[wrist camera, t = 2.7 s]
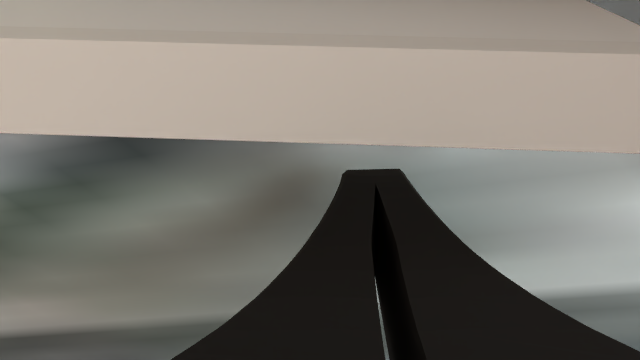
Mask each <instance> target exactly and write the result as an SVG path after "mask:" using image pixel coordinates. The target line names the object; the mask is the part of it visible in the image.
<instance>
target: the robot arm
mask: <svg viewBox="0 0 640 360" xmlns="http://www.w3.org/2000/svg"><path fill="white" fill-rule="evenodd" d="M375 279H376V285H377V290H378V296H379V302H380V308H381V313H382V319H383V325H384V330H385V336H386V342H387V347H388V353H389V360H640V352H639V351H637V350H635V349H633V348H631V347H629V346H627V345H625V344H623V343H621V342H618V341H616V340H614V339H612V338H610V337H608V336H606V335H604V334H602V333H600V332H598V331H595V330H593V329H591V328H590V327H588V326H586V325H584V324H582V323H580V322H578V321H577V320H575V319H573V318H571V317H569V316H568V315H566V314H564V313H562V312H561V311H559V310H557V309H555V308H553V307H552V306H550V305H548V304H547V303H545V302H543V301H542V300H540V299H539V298H537V297H535V296H534V295H532V294H531V293H529V292H528V291H526V290H525V289H523V288H522V287H520V286H519V285H517V284H516V283H514V282H513V281H511V280H510V279H508V278H507V277H505V276H504V275H503V274H501V273H500V272H499V271H497V270H496V269H494V268H493V267H492V266H491V265H489V264H488V263H487V262H486V261H484V260H483V259H482V258H481V257H479V256H478V255H477V254H476V253H474V252H473V251H472V250H471V249H470V248H469V247H468V246H467V245H465V244H464V243H463V242H462V241H461V240H460V239H459V238H458V237H457V236H456V235H455V234H454V233H453V232H452V231H451V230H450V229H449V228H448V227H447V226H446V225H445V224H444V223H443V222H442V221H441V219H440V218H439V217H438V216H437V215H436V214H435V213H434V212H433V210H432V209H431V208H430V207H429V206H428V205H427V203H426V202H425V201H424V200H423V199H422V197H421V196H420V195H419V194H418V192H417V191H416V190H415V188H414V187H413V186H412V184H411V183H410V181H409V180H408V179H407V177H406V176H405V174H404V173H403V172H402V171H401V170H400V169H371V170H347V171H346V172H344V173H343V174H342V179H341V182H340V185H339V187H338V189H337V192H336V194H335V196H334V198H333V200H332V202H331V204H330V206H329V207H328V209H327V211H326V213H325V214H324V216H323V218H322V220H321V221H320V223H319V224H318V226H317V227H316V229H315V230H314V232H313V233H312V235H311V236H310V238H309V239H308V241H307V242H306V243H305V245H304V246H303V247H302V249H301V250H300V251H299V252H298V254H297V255H296V256H295V257H294V258H293V260H292V261H291V262H290V263H289V264H288V265H287V267H286V268H285V269H284V270H283V271H282V272H281V273H280V274H279V275H278V276H277V277H276V278H275V279H274V280H273V281H272V282H271V283H270V284H269V286H268V287H267V288H266V289H264V290H263V291H262V292H261V293H260V294H259V295H258V296H257V297H256V298H255V299H254V300H252V301H251V302H250V303H249V304H248V305H246V306H245V307H244V308H243V309H242V310H240V311H239V312H238V313H237V314H236V315H234V316H233V317H232V318H231V319H230V320H228V321H227V322H226V323H225V324H223V325H222V326H221V327H219V328H218V329H216V330H215V331H214V332H212V333H211V334H209V335H208V336H206V337H205V338H203V339H202V340H200V341H199V342H197V343H196V344H194V345H193V346H191V347H190V348H188V349H187V350H185V351H184V352H182V353H180V354H179V355H177V356H175V357H174V358H172V359H171V360H385V355H384V348H383V341H382V334H381V327H380V319H379V311H378V303H377V294H376V285H375Z"/></svg>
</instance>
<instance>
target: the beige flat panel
mask: <svg viewBox="0 0 640 360" xmlns="http://www.w3.org/2000/svg"><path fill="white" fill-rule="evenodd" d="M0 133H16V134H47V135H78V136H109V137H140V138H171V139H202V140H233V141H264V142H294V143H325V144H356V145H387V146H418V147H449V148H480V149H511V150H542V151H573V152H604V153H635V154H640V25H638V24H636V23H633V22H631V21H629V20H627V19H625V18H623V17H620V16H618V15H616V14H614V13H612V12H610V11H607V10H605V9H603V8H601V7H599V6H597V5H594V4H592V3H590V2H588V1H586V0H0Z"/></svg>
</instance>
